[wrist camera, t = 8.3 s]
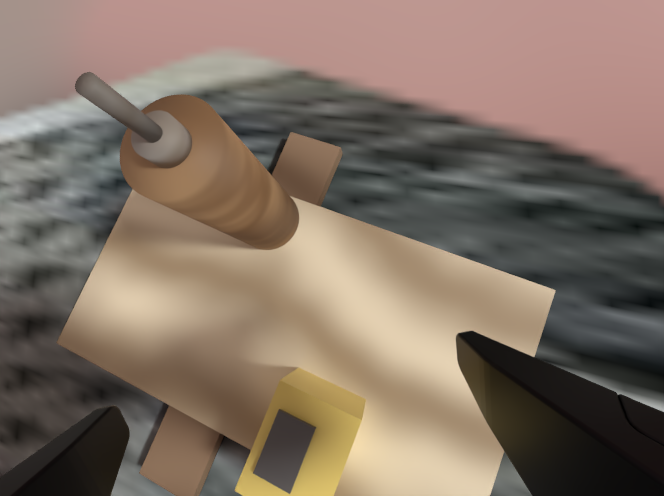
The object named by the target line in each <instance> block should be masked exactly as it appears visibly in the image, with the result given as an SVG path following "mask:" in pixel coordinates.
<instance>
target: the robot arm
mask: <svg viewBox="0 0 664 496" xmlns="http://www.w3.org/2000/svg"><path fill="white" fill-rule="evenodd" d="M456 350H457V361H458V365H459V368H460V370H461V372H462V374H463V376H464V378H465V380H466V382H467V384H468V386H469V388H470V390H471V392H472V394H473V396H474V398H475V400H476V402H477V404H478V406H479V409H480V411H481V413H482V415H483V416H484V418H485V420H486V422H487V424H488V426H489V427H490V429H491V431H492V432H493V434H494V436H495V437H496V439H497V440H498V442H499V443H500V445H501V447H502V448H503V450H504V451H505V453H506V455H507V456H508V458H509V459H510V461H511V462H512V464H513V466H514V467H515V469H516V470H517V472H518V474H519V475H520V477H521V478H522V480H523V482H524V483H525V485H526V486H527V488H528V489H529V491H530V493H531V494H532V496H664V412H662V411H659V410H657V409H655V408H652V407H650V406H647V405H645V404H642V403H640V402H638V401H635V400H633V399H631V398H628V397H626V396H624V395H621V394H619V395H618V394H617V393H616V392H614V391H612V390H610V389H607V388H605V387H603V386H600V385H598V384H596V383H593V382H591V381H589V380H586V379H584V378H582V377H579V376H577V375H575V374H572V373H570V372H568V371H565V370H563V369H561V368H558V367H556V366H554V365H551V364H549V363H547V362H544V361H542V360H540V359H537V358H535V357H533V356H530V355H528V354H526V353H523V352H521V351H519V350H516V349H514V348H512V347H509V346H507V345H505V344H502V343H500V342H498V341H495V340H493V339H491V338H488V337H486V336H484V335H481V334H479V333H477V332H474V331H466V332H461V333H458V334H457V335H456ZM129 435H130V434H129V428H128V426H127V424H126V422H125V420H124V418H123V416H122V414H121V412H120V410H119V408H118V407H117V406H114V405H112V406H107V407H102V408H99V409H96V410H95V411H93V412H92V413H91V414H89V415H88V416H86V417H85V418H84V419H82V420H81V421H79V422H78V423H77V424H75V425H74V426H72V427H71V428H70V429H68V430H67V431H65V432H64V433H62V434H61V435H60V436H58V437H57V438H55V439H54V440H53V441H51V442H50V443H48V444H47V445H46V446H44V447H43V448H41V449H40V450H38V451H37V452H36V453H34V454H33V455H31V456H30V457H29V458H27V459H26V460H24V461H23V462H22V463H20V464H19V465H17V466H16V467H15V468H13V469H12V470H10V471H9V472H7V473H6V474H5V475H3V476H2V477H0V496H110V495H111V492H112V489H113V486H114V483H115V480H116V477H117V474H118V471H119V468H120V465H121V462H122V459H123V456H124V453H125V450H126V446H127V443H128V440H129Z"/></svg>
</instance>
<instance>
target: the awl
mask: <svg viewBox="0 0 664 496" xmlns="http://www.w3.org/2000/svg"><path fill="white" fill-rule="evenodd" d="M75 89H76V91H77V92H78V93H79V94H80V95H82V96H83V97H85V98H86V99H87V100H89V101H90V102H92V103H93V104H95V105H96V106H98V107H99V108H100V109H102V110H103V111H105V112H106V113H108V114H109V115H111V116H112V117H113V118H115V119H116V120H118V121H119V122H121V123H122V124H124V125H125V126H126V127H128V128H127V130H126V132H125V135H124V137H123V140H122V144H121V149H120V165H121V170H122V173H123V175H124V177H125V179H126V181H127V183H128V184H129V185H130V187H131V188H132V189H133V190H134V191H136V192H137V193H139V194H140V195H142V196H144V197H146V198H148V199H150V200H153V201H155V202H157V203H159V204H161V205H164V206H166V207H168V208H170V209H172V210H174V211H177V212H179V213H181V214H183V215H185V216H188V217H190V218H192V219H194V220H196V221H199V222H201V223H203V224H205V225H207V226H210V227H212V228H214V229H216V230H218V231H220V232H223V233H225V234H227V235H229V236H231V237H234V238H236V239H238V240H240V241H242V242H245V243H247V244H249V245H251V246H253V247H256V248H258V249H262V250H273V249H276V248H279V247H281V246H283V245H285V244H286V243H287V242H288V241H289V240H290V239H291V238H292V237H293V236H294V234H295V232H296V230H297V227H298V224H299V211H298V208H297V205H296V203H295V202H294V200H293V199H292V198H291V197H290V196H289V195H288V194H287V192H286V191H285V190H284V189H283V188H282V187H281V186H280V184H279V183H278V182H277V181H276V180H275V179H274V178H273V176H272V175H271V174H270V173H269V172H268V171H267V170H266V169H265V167H264V166H263V165H262V164H261V163H260V162H259V161H258V159H257V158H256V157H255V156H254V155H253V154H252V153H251V151H250V150H249V149H248V148H247V147H246V146H245V145H244V144H243V142H242V141H241V140H240V139H239V138H238V137H237V136H236V134H235V133H234V132H233V131H232V130H231V129H230V128H229V126H228V125H227V124H226V123H225V122H224V121H223V120H222V119H221V117H220V116H219V115H218V114H217V113H216V112H215V111H214V109H213V108H212V107H211V106H210V105H209V104H207V103H206V102H205V101H203V100H201V99H199V98H197V97H194V96H190V95H172V96H167V97H164V98H161V99H159V100H156V101H155V102H153V103H151V104H149V105H148V106H147V107H145V108H144V109H143V110H142V111H140V110H139V109H138V108H136V107H135V106H134V105H132V104H131V103H130V102H129V101H127V100H126V99H125V98H124V97H122V96H121V95H120V94H119V93H117V92H116V91H115V90H114V89H112V88H111V87H110V86H109V85H107V84H106V83H105V82H104V81H102V80H101V79H100V78H98V77H97V76H96V75H95V74H93V73H91V72H87V73H84V74H82V75H81V76H80V77H79V78H78V80H77V81H76V84H75Z"/></svg>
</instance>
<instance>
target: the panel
mask: <svg viewBox="0 0 664 496" xmlns="http://www.w3.org/2000/svg"><path fill="white" fill-rule="evenodd" d="M341 157H342V150H341V147H338V146H334V145H331V144H328V143H325V142H321V141H318V140H315V139H312V138H309V137H305V136H302V135H299V134H296V133H292V132H291V133H290V135H289V137H288V139H287V142H286V144H285V146H284V148H283V151H282V153H281V155H280V157H279V160H278V162H277V164H276V166H275V169H274V171H273V173H272V176H273V178H274V179H275V180H276V181H277V182H278V183H279V184H280V186H281V187H282V188H283V189H284V190H285V191H286V192H287V194H288V195H289V196H290V197H291V198H292V199H293V200H294V202H295V203H296V205H297V208H298V211H299V224H298V227H297V230H296V232H295V234H294V236H293V237H292V238H291V239H290V240H289V241H288V242H287V243H286V244H285V245H283V246H281V247H279V248H276V249H273V250H262V249H258V248H256V247H253V246H251V245H249V244H247V243H245V242H242V241H240V240H238V239H236V238H234V237H231V236H229V235H227V234H225V233H223V232H220V231H218V230H216V229H214V228H212V227H210V226H207V225H205V224H203V223H201V222H199V221H196V220H194V219H192V218H190V217H188V216H185V215H183V214H181V213H179V212H177V211H174V210H172V209H170V208H168V207H166V206H164V205H161V204H159V203H157V202H155V201H153V200H150V199H148V198H146V197H144V196H142V195H140V194H139V193H137V192H136V191H134V190H133V189H132V191H131V194H130V196H129V198H128V200H127V202H126V204H125V206H124V208H123V210H122V212H121V214H120V216H119V218H118V220H117V222H116V224H115V226H114V228H113V230H112V232H111V234H110V236H109V238H108V240H107V242H106V244H105V246H104V248H103V250H102V252H101V254H100V256H99V258H98V260H97V262H96V264H95V266H94V268H93V270H92V272H91V274H90V276H89V278H88V280H87V282H86V284H85V286H84V288H83V290H82V292H81V294H80V296H79V298H78V300H77V302H76V304H75V306H74V308H73V310H72V312H71V314H70V316H69V318H68V320H67V323H66V325H65V327H64V329H63V331H62V333H61V335H60V337H59V339H58V341H57V344H59V345H61V346H62V347H64V348H66V349H68V350H70V351H72V352H73V353H75V354H77V355H79V356H81V357H82V358H84V359H86V360H88V361H90V362H92V363H93V364H95V365H97V366H99V367H101V368H103V369H104V370H106V371H108V372H110V373H112V374H113V375H115V376H117V377H119V378H121V379H123V380H124V381H126V382H128V383H130V384H132V385H133V386H135V387H137V388H139V389H141V390H143V391H144V392H146V393H148V394H150V395H152V396H153V397H155V398H157V399H159V400H161V401H163V402H164V403H166V404H168V405H169V407H168V409H167V412H166V414H165V416H164V418H163V421H162V423H161V425H160V427H159V430H158V432H157V434H156V436H155V439H154V441H153V443H152V445H151V448H150V450H149V452H148V454H147V457H146V459H145V461H144V463H143V466H142V468H141V470H140V472H139V473H140V474H141V475H143V476H145V477H146V478H148V479H150V480H151V481H153V482H154V483H156V484H158V485H159V486H161V487H163V488H164V489H166V490H167V491H169V492H171V493H172V494H174V495H176V496H199V494H200V492H201V490H202V487H203V485H204V483H205V480H206V478H207V475H208V473H209V471H210V468H211V466H212V463H213V461H214V459H215V456H216V454H217V452H218V449H219V447H220V444H221V442H222V440H223V437H224V436H226V437H228V438H230V439H232V440H234V441H235V442H237V443H239V444H241V445H243V446H244V447H246V448H248V449H250V450H251V449H252V447H253V444H254V442H255V439H256V437H257V434H258V432H259V430H260V427H261V425H262V422H263V420H264V417H265V415H266V412H267V410H268V408H269V405H270V403H271V400H272V398H273V395H274V393H275V390H276V388H277V386H278V383H279V381H280V380H281V379H282V378H284V377H285V376H287V375H288V374H290V373H291V372H293V371H294V370H296V369H297V368H301V369H303V370H305V371H307V372H310V373H312V374H314V375H316V376H318V377H320V378H322V379H324V380H326V381H329V382H331V383H333V384H335V385H337V386H339V387H341V388H343V389H345V390H348V391H350V392H352V393H354V394H356V395H358V396H360V397H362V398H364V399H366V402H365V407H364V412H363V417H362V421H361V424H360V427H359V429H358V432H357V435H356V437H355V440H354V443H353V445H352V448H351V451H350V454H349V456H348V459H347V462H346V464H345V467H344V470H343V472H342V475H341V478H340V480H339V483H338V486H337V488H336V491H335V494H334V496H490V494H491V491H492V488H493V484H494V481H495V478H496V475H497V472H498V469H499V466H500V463H501V459H502V456H503V453H504V450H503V448H502V447H501V445H500V443H499V442H498V440H497V439H496V437H495V436H494V434H493V432H492V431H491V429H490V427H489V426H488V424H487V422H486V420H485V418H484V416H483V415H482V413H481V411H480V409H479V406H478V404H477V402H476V400H475V398H474V396H473V394H472V392H471V390H470V388H469V386H468V384H467V382H466V380H465V378H464V376H463V374H462V372H461V370H460V368H459V365H458V361H457V350H456V335H457V334H458V333H461V332H466V331H474V332H477V333H479V334H481V335H484V336H486V337H488V338H491V339H493V340H495V341H498V342H500V343H502V344H505V345H507V346H509V347H512V348H514V349H516V350H519V351H521V352H523V353H526V354H528V355H530V356H533V357H534V356H535V353H536V350H537V347H538V344H539V341H540V337H541V334H542V331H543V328H544V325H545V322H546V319H547V316H548V312H549V309H550V306H551V303H552V300H553V297H554V294H555V291H556V290H553V289H550V288H547V287H545V286H542V285H539V284H536V283H533V282H531V281H528V280H525V279H522V278H519V277H516V276H514V275H511V274H508V273H505V272H502V271H500V270H497V269H494V268H491V267H488V266H486V265H483V264H480V263H477V262H474V261H471V260H469V259H466V258H463V257H460V256H457V255H455V254H452V253H449V252H446V251H443V250H441V249H438V248H435V247H432V246H429V245H426V244H424V243H421V242H418V241H415V240H412V239H410V238H407V237H404V236H401V235H398V234H396V233H393V232H390V231H387V230H384V229H381V228H379V227H376V226H373V225H370V224H367V223H365V222H362V221H359V220H356V219H353V218H351V217H348V216H345V215H342V214H339V213H336V212H334V211H331V210H328V209H325V208H322V207H321V204H322V202H323V200H324V197H325V195H326V192H327V190H328V188H329V185H330V183H331V180H332V178H333V176H334V173H335V171H336V169H337V166H338V164H339V161H340V159H341Z"/></svg>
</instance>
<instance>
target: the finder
mask: <svg viewBox="0 0 664 496" xmlns="http://www.w3.org/2000/svg"><path fill="white" fill-rule="evenodd" d="M365 402H366V399H364V398H362V397H360V396H358V395H356V394H354V393H352V392H350V391H348V390H345V389H343V388H341V387H339V386H337V385H335V384H333V383H331V382H329V381H326V380H324V379H322V378H320V377H318V376H316V375H314V374H312V373H310V372H307V371H305V370H303V369H301V368H297V369H296V370H294V371H293V372H291V373H290V374H288V375H287V376H285V377H284V378H282V379H281V380H280V381H279V383H278V386H277V388H276V390H275V393H274V395H273V398H272V400H271V403H270V405H269V408H268V410H267V412H266V415H265V417H264V420H263V422H262V425H261V427H260V430H259V432H258V434H257V437H256V439H255V442H254V444H253V447H252V449H251V452H250V454H249V457H248V459H247V461H246V464H245V466H244V469H243V471H242V474H241V476H240V479H239V481H238V483H237V486H236V488H235V491H236V492H238V493H239V494H241V495H243V496H334V494H335V491H336V488H337V486H338V483H339V480H340V478H341V475H342V472H343V470H344V467H345V464H346V462H347V459H348V456H349V454H350V451H351V448H352V445H353V443H354V440H355V437H356V435H357V432H358V429H359V427H360V424H361V421H362V417H363V412H364V407H365Z"/></svg>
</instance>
